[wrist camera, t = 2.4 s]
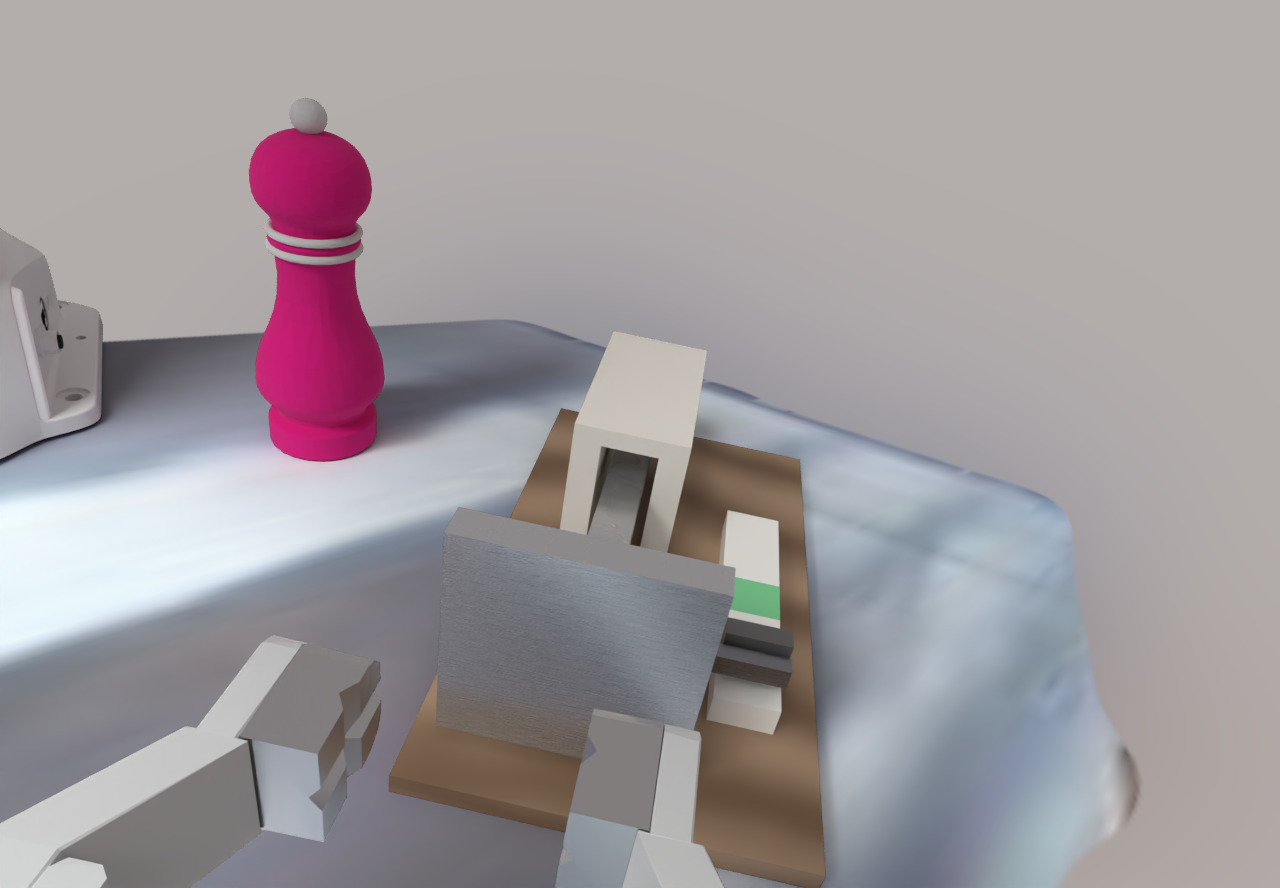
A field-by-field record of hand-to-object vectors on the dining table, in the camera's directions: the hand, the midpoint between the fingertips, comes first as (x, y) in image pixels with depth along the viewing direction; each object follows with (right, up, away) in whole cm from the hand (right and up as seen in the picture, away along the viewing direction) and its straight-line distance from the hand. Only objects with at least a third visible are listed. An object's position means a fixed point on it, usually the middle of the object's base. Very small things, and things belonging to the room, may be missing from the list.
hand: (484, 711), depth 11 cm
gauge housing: (+1, +1, +38) cm, 38 cm away
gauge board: (+3, -4, +33) cm, 33 cm away
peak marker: (+7, -6, +25) cm, 27 cm away
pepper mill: (-18, +4, +40) cm, 44 cm away
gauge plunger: (+2, -4, +29) cm, 30 cm away
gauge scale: (+8, -5, +30) cm, 32 cm away
